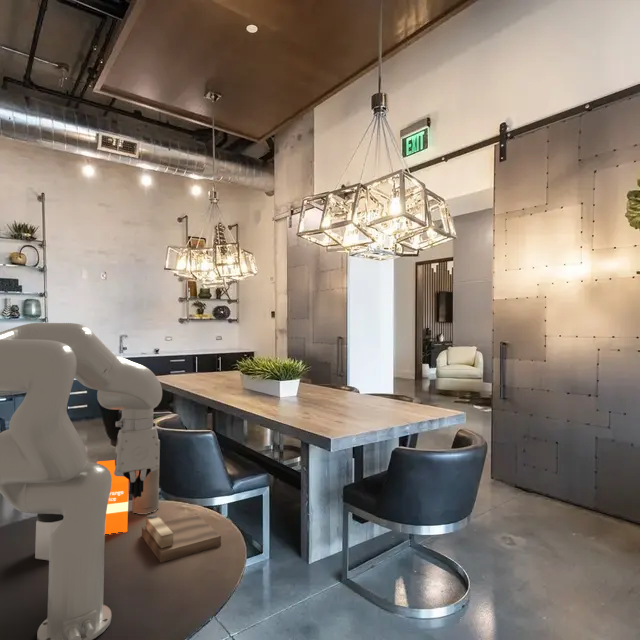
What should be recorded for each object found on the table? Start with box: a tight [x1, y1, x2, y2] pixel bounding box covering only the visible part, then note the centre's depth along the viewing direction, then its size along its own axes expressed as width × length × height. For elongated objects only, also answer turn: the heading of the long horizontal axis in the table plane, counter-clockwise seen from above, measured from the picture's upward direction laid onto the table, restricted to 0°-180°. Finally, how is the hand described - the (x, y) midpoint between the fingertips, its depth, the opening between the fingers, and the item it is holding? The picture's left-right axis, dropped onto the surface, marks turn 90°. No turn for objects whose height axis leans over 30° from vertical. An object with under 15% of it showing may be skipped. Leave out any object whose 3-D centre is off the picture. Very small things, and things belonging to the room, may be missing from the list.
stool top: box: [141, 513, 222, 563], centre depth 124 cm, size 18×16×2 cm
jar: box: [34, 514, 64, 561], centre depth 116 cm, size 9×8×12 cm
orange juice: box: [96, 459, 130, 535], centre depth 131 cm, size 8×9×20 cm
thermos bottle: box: [131, 422, 161, 514], centre depth 146 cm, size 8×8×28 cm
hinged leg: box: [145, 513, 173, 548], centre depth 120 cm, size 16×3×3 cm, turn 36°
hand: (136, 495), depth 114 cm, fingers closed
